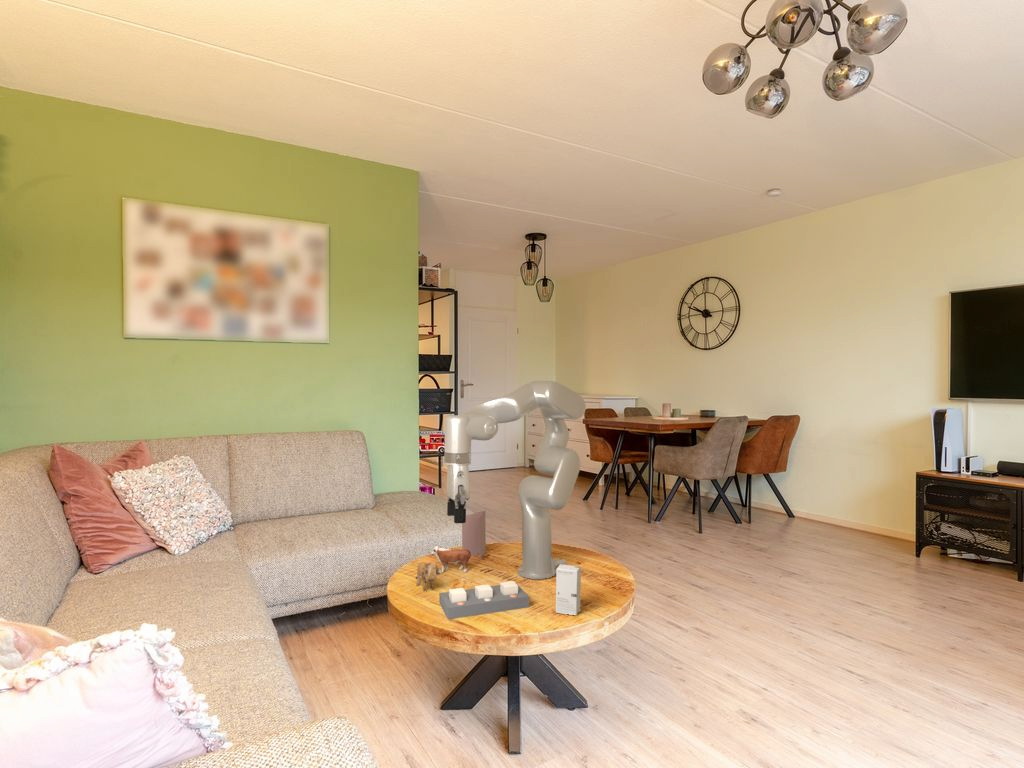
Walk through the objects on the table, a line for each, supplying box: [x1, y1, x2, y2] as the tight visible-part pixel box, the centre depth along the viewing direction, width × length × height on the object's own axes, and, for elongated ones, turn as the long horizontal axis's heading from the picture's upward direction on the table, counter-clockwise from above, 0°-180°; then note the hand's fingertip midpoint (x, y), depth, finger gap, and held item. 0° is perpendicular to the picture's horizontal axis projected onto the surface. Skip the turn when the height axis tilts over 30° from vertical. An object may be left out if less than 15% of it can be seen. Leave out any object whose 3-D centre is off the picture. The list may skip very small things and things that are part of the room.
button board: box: [438, 582, 530, 620], centre depth 158 cm, size 23×11×3 cm, turn 109°
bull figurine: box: [431, 545, 472, 574], centre depth 186 cm, size 4×13×8 cm, turn 84°
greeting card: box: [461, 510, 487, 562], centre depth 201 cm, size 11×7×15 cm, turn 136°
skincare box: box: [555, 564, 582, 616], centre depth 153 cm, size 6×4×12 cm
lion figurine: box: [415, 561, 442, 593], centre depth 172 cm, size 15×5×9 cm, turn 34°
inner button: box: [499, 580, 518, 595], centre depth 160 cm, size 4×4×4 cm
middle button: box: [474, 583, 493, 599], centre depth 158 cm, size 4×4×4 cm
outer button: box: [448, 587, 466, 603], centre depth 155 cm, size 4×4×4 cm
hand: (456, 519), depth 160 cm, fingers open, 9 cm apart
